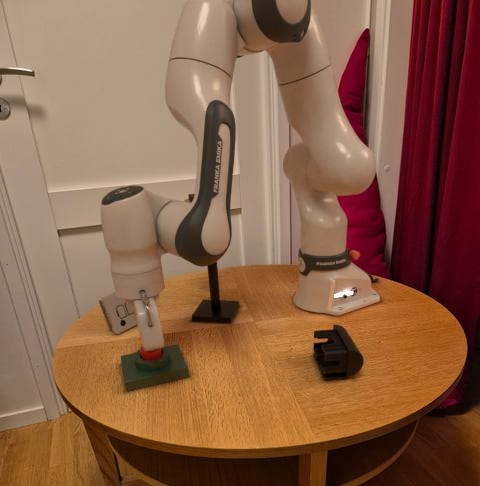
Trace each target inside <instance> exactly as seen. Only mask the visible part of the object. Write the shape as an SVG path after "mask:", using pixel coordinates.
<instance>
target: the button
mask: <svg viewBox="0 0 480 486" xmlns="http://www.w3.org/2000/svg"><path fill="white" fill-rule="evenodd" d="M139 349H140V352H141V357H142V359H143V360H155V359H158V358H159V357H161V356H162V351H161V348H159V349H155V350H152V351H145V350H144V348H143V345H142V346H141V347H140V348H139Z"/></svg>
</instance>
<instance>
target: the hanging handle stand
mask: <svg viewBox="0 0 480 486" xmlns="http://www.w3.org/2000/svg"><path fill="white" fill-rule="evenodd" d="M194 196H195V193H189V194H188V198H184V200H183V201H185V202H188V203H192V201H193V199H194ZM206 267H207V278H208V288H209V297H210V298H209V299H205V298H204V299H202V300H201V302H200V303H199V304H198V306H197V307H196V308H195V310H194V312H193V313H192V315H191V317H190V318H191V322H197V323H213V324H214V323H215V324H216V323H217V324H231V323H232V322H233V320H234V318H235V316H236V314H237V312H238V310H239V308H240V305H241V304H240V303H241V302H240V300H228V299H227V300H225V299H221V295H220V283H219V282H220V281H219V269H218V261H217V262H215V263H213V264H211V265H209V266H206Z"/></svg>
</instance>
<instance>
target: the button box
mask: <svg viewBox="0 0 480 486" xmlns="http://www.w3.org/2000/svg"><path fill="white" fill-rule="evenodd" d="M140 349H141V348H139V349H137V350H136V352H132V353H128V354H123V355H120V362H121V369H122V376H123V382H124V387H125V392H130V391H135V390H140V389H144V388H148V387H152V386H157V385H161V384H166V383H169V382H173V381H178V380H182V379H187V378H189V376H190V375H189V370H188V366H187V363H186V360H185V359H184V356H183V353H182V351H181V348H180V346H179V344H178V343H175V344H170V345H164V347H162V348H161V351H162V356H161V357H159V358H158V359H155V360H143V359H142V357H141V352H140Z"/></svg>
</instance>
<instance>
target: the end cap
mask: <svg viewBox="0 0 480 486" xmlns="http://www.w3.org/2000/svg"><path fill="white" fill-rule="evenodd" d="M313 339H317V340H325V339H327V340H326V341H318V342H313V346H312V347H313V358H314V360H315V363H316V365H317V367H318V369H319V372H320V374H321V377H322V379H323V381H326V382H327V381H338V380H339V381H340V380H347V379H349V378H351V377H353V376H356V375H357V374H358V373H359V372H360V371H361V370H362V368H363V366H364V356H363V354H362V353H361V351H360V350H359V348H358V346H357V345H356V344H355V342H354V340H353V339H352V337H351V335H350V334H349V332H348V331H347V329H346V328H345V327H344V326H342V325H340V324H333V325H332V329H321V330H313Z"/></svg>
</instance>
